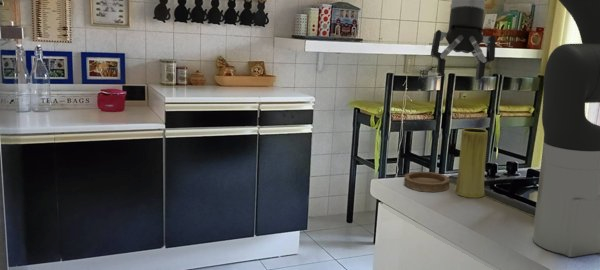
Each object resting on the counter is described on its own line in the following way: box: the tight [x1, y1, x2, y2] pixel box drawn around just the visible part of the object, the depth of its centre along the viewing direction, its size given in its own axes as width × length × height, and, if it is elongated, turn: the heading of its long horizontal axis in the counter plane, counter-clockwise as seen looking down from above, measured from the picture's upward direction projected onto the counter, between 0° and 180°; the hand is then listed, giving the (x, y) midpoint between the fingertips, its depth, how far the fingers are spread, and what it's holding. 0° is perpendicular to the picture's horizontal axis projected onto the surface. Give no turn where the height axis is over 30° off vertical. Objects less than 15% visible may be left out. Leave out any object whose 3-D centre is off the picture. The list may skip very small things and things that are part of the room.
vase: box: [455, 127, 489, 199], centre depth 108 cm, size 6×6×14 cm
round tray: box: [403, 170, 451, 193], centre depth 115 cm, size 10×10×2 cm
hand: (459, 77), depth 117 cm, fingers open, 8 cm apart
